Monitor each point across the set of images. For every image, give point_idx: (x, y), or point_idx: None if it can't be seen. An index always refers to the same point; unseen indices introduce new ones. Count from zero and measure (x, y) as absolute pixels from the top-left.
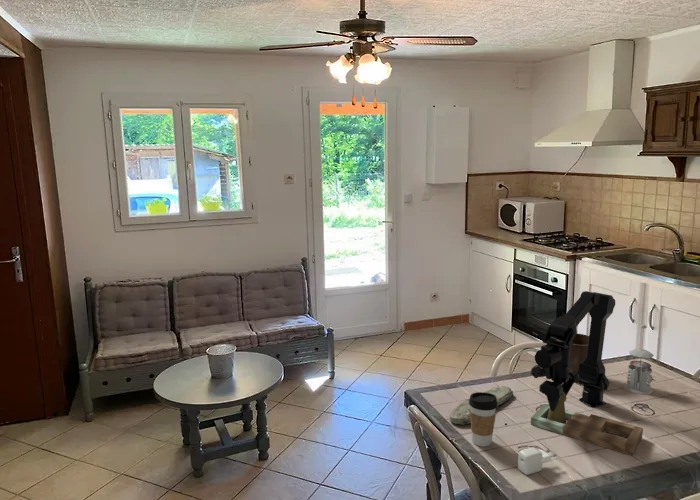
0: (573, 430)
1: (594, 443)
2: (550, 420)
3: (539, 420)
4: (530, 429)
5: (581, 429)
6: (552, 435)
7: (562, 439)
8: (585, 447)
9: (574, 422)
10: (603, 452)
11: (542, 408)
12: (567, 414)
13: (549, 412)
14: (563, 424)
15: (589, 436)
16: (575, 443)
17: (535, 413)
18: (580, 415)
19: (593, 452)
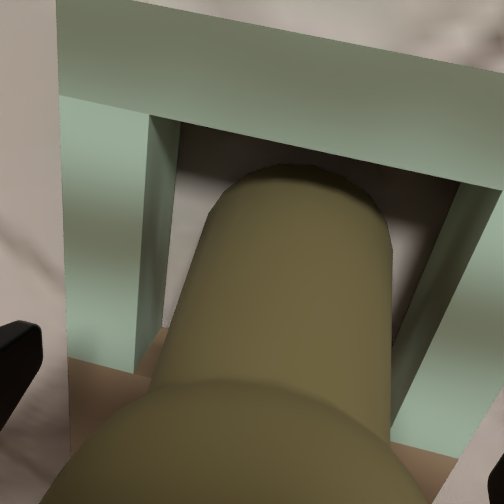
0: (73, 422)
1: None
2: (126, 244)
3: (65, 118)
4: (5, 22)
5: None
6: (36, 242)
7: (28, 314)
8: (27, 432)
9: None
10: (40, 500)
11: (459, 100)
12: (402, 387)
13: (225, 242)
14: (119, 360)
15: None
16: (34, 387)
17: (224, 23)
18: None
19: (3, 461)
